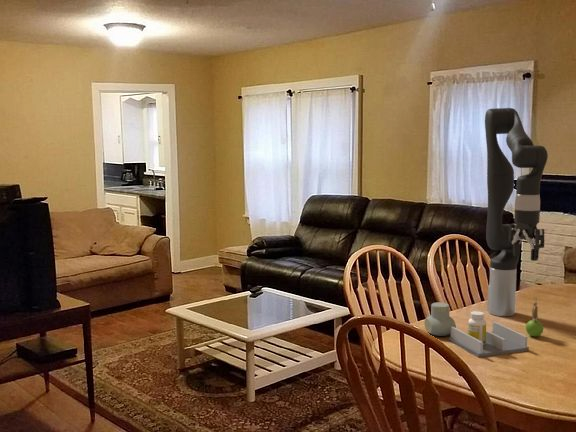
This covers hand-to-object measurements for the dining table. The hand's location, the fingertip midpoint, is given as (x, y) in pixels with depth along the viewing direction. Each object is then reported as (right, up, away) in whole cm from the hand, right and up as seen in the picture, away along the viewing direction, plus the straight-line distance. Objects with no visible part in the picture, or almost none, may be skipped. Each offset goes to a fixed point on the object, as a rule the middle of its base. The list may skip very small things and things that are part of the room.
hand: (525, 258), depth 196 cm
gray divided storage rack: (-14, -27, -5) cm, 31 cm away
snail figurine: (+4, -26, +4) cm, 27 cm away
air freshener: (-26, -26, +7) cm, 37 cm away
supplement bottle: (-18, -27, -6) cm, 32 cm away
